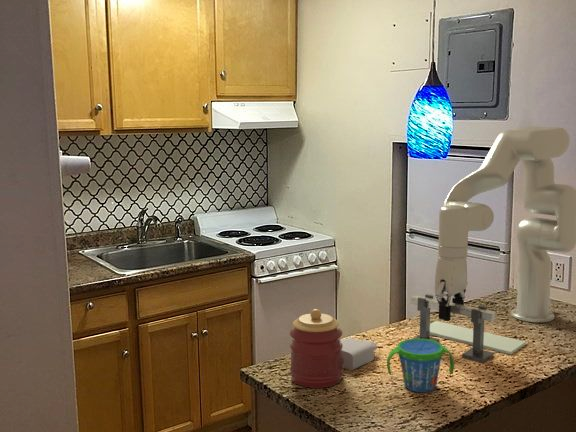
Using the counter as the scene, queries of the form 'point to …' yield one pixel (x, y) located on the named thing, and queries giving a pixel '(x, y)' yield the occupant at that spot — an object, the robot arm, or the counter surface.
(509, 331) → the counter surface
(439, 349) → the snack cup
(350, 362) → the charger
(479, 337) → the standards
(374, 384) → the counter surface
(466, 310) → the rail
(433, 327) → the board
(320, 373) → the canister
